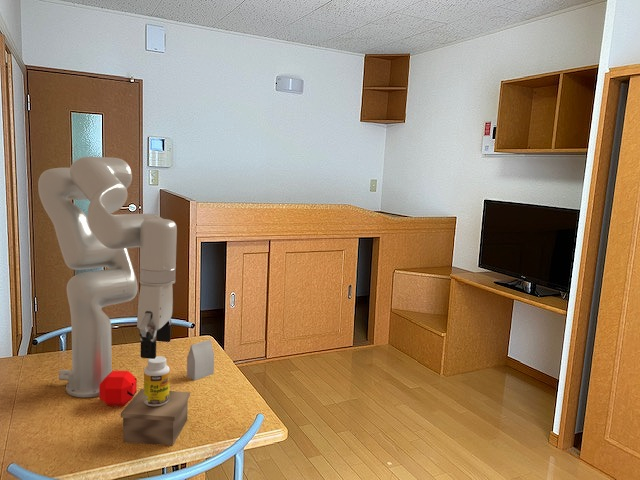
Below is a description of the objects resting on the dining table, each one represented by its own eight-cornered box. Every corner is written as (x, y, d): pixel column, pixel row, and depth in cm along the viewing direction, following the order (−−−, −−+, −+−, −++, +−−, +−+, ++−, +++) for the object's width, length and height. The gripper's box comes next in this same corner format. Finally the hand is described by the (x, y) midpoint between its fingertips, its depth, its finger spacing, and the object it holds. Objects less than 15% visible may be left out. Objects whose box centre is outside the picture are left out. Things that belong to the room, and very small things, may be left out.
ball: (130, 410, 124) (130, 381, 123) (96, 409, 123) (96, 380, 122) (138, 395, 132) (138, 367, 131) (107, 394, 131) (107, 367, 130)
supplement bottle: (147, 409, 111) (147, 365, 109) (140, 399, 115) (141, 357, 114) (172, 404, 114) (173, 361, 112) (165, 394, 118) (165, 353, 117)
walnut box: (120, 443, 110) (120, 413, 109) (140, 416, 121) (141, 388, 120) (174, 446, 110) (174, 416, 109) (189, 419, 121) (189, 392, 120)
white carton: (213, 373, 148) (214, 341, 146) (194, 380, 142) (195, 347, 141) (205, 370, 150) (206, 338, 148) (186, 376, 145) (187, 343, 143)
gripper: (154, 265, 119) (153, 334, 121) (124, 283, 102) (123, 363, 104) (186, 268, 118) (184, 336, 121) (161, 286, 101) (159, 366, 104)
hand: (156, 349), depth 113 cm, fingers open, 9 cm apart
